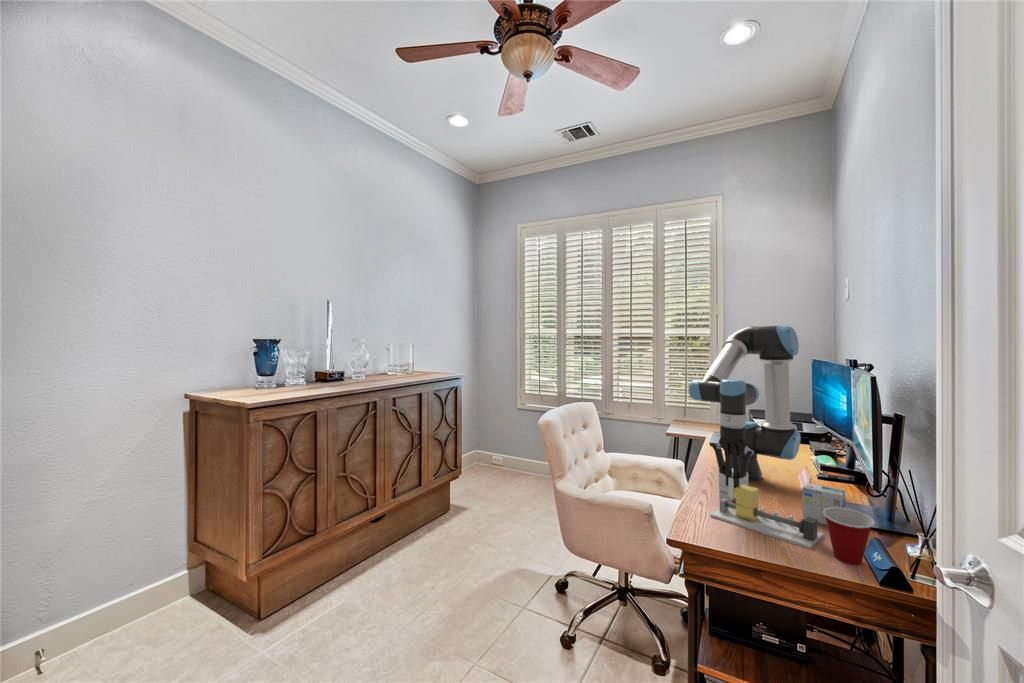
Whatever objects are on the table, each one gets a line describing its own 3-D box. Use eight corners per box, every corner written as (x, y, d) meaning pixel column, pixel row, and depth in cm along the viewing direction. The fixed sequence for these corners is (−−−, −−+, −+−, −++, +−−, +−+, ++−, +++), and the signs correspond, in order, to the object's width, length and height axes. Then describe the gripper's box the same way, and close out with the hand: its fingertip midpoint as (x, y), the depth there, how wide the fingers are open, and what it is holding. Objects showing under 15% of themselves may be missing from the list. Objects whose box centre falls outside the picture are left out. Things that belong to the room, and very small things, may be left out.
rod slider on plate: (710, 516, 137) (710, 498, 137) (726, 507, 145) (726, 490, 145) (810, 549, 116) (810, 527, 116) (823, 536, 123) (823, 516, 123)
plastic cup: (823, 562, 109) (823, 516, 109) (821, 545, 118) (821, 503, 118) (877, 575, 103) (878, 527, 103) (871, 557, 112) (871, 512, 112)
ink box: (749, 505, 147) (749, 472, 147) (742, 508, 144) (742, 474, 144) (725, 497, 154) (725, 466, 154) (718, 500, 151) (718, 468, 151)
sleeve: (735, 516, 135) (735, 487, 135) (741, 512, 138) (742, 484, 138) (752, 521, 131) (752, 492, 131) (758, 517, 134) (758, 488, 134)
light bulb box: (846, 523, 133) (846, 489, 133) (843, 529, 128) (843, 495, 128) (805, 513, 140) (805, 481, 140) (801, 519, 135) (801, 486, 135)
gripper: (707, 424, 140) (707, 493, 140) (749, 431, 130) (748, 505, 130) (718, 421, 145) (717, 488, 145) (758, 427, 135) (758, 499, 135)
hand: (732, 496), depth 138 cm, fingers closed
